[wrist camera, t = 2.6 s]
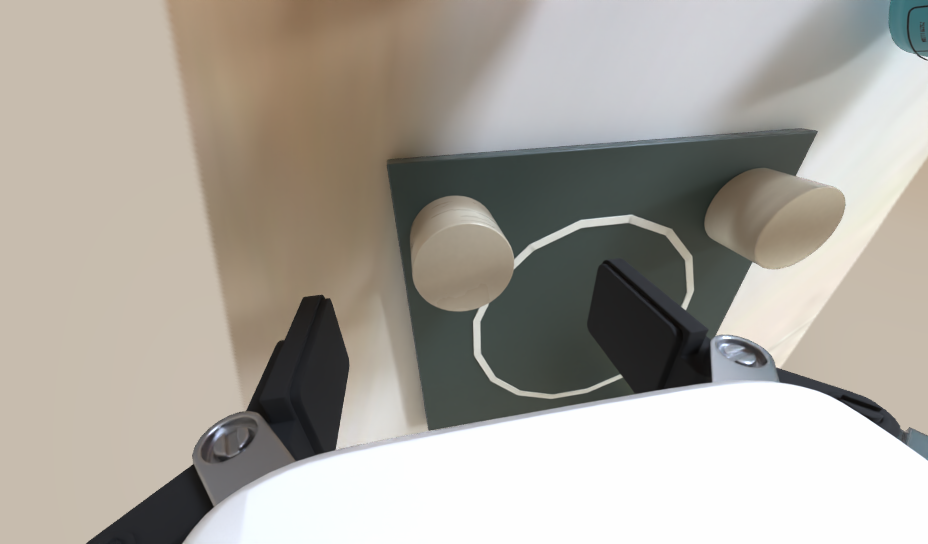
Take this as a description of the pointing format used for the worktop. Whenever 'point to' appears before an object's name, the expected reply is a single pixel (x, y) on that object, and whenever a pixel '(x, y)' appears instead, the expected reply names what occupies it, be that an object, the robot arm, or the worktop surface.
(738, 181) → the puck eye
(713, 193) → the chalkboard
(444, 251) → the puck eye
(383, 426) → the worktop surface
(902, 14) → the beverage bottle
